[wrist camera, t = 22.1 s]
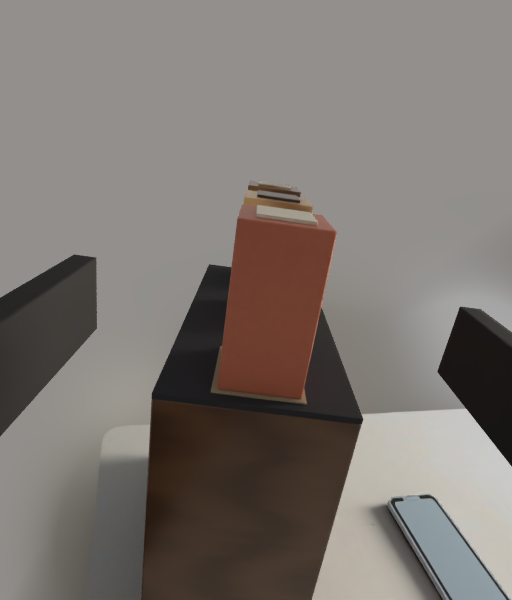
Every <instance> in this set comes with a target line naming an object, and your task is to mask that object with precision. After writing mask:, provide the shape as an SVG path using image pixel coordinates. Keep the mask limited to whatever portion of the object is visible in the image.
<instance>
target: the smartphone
mask: <svg viewBox="0 0 512 600" xmlns="http://www.w3.org/2000/svg"><path fill="white" fill-rule="evenodd" d="M388 508H389V509H390V511H391V513H392V514H393V516H394V518H395V519H396V521H397V523H398V524H399V526H400V528H401V530H402V531H403V533H404V535H405V536H406V538H407V540H408V541H409V543H410V545H411V546H412V548H413V550H414V551H415V553H416V555H417V556H418V558H419V560H420V562H421V563H422V565H423V567H424V568H425V570H426V572H427V573H428V575H429V577H430V578H431V580H432V582H433V583H434V585H435V587H436V588H437V590H438V592H439V594H440V595H441V597H442V599H443V600H511V599H510V598H509V596H508V595H507V593H506V592H505V591H504V589H503V588H502V587H501V585H500V584H499V583H498V581H497V580H496V579H495V577H494V576H493V574H492V573H491V572H490V570H489V569H488V568H487V566H486V565H485V564H484V562H483V561H482V559H481V558H480V557H479V555H478V554H477V553H476V551H475V550H474V549H473V547H472V546H471V545H470V543H469V542H468V540H467V539H466V538H465V536H464V535H463V534H462V532H461V531H460V530H459V528H458V527H457V525H456V524H455V523H454V521H453V520H452V519H451V517H450V516H449V515H448V513H447V512H446V510H445V509H444V508H443V506H442V505H441V504H440V502H439V501H438V500H437V498H436V497H434V496H433V495H431V494H418V495H408V496H398V497H391V498H390V499H389V501H388Z"/></svg>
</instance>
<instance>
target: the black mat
mask: <svg viewBox="0 0 512 600" xmlns="http://www.w3.org/2000/svg"><path fill="white" fill-rule="evenodd" d="M231 268H232V267H225V266H216V265H209V266H208V268H207V271H206V273H205V275H204V277H203V280H202V282H201V284H200V286H199V289H198V291H197V293H196V296H195V298H194V300H193V302H192V304H191V307H190V309H189V311H188V313H187V315H186V318H185V320H184V322H183V324H182V327H181V329H180V331H179V333H178V336H177V338H176V340H175V343H174V345H173V347H172V349H171V352H170V354H169V356H168V358H167V360H166V363H165V365H164V367H163V370H162V372H161V374H160V376H159V379H158V381H157V383H156V385H155V387H154V390H153V392H152V399H158V400H166V401H174V402H182V403H190V404H199V405H207V406H215V407H223V408H231V409H239V410H247V411H255V412H264V413H272V414H280V415H288V416H296V417H304V418H312V419H320V420H329V421H337V422H345V423H353V424H362V422H363V417H362V415H361V412H360V409H359V407H358V404H357V401H356V399H355V396H354V394H353V391H352V388H351V385H350V383H349V380H348V378H347V374H346V372H345V369H344V366H343V364H342V361H341V359H340V356H339V353H338V350H337V348H336V345H335V342H334V340H333V337H332V335H331V332H330V329H329V326H328V324H327V321H326V318H325V315H324V313H323V310H322V308H321V310H320V315H319V320H318V324H317V329H316V334H315V338H314V343H313V348H312V353H311V357H310V362H309V367H308V371H307V376H306V381H305V386H304V390H303V395H302V398H301V399H295V398H287V397H279V396H271V395H263V394H255V393H247V392H239V391H231V390H223V389H218V388H217V384H218V376H219V368H220V360H221V351H222V343H223V335H224V326H225V318H226V310H227V301H228V293H229V285H230V277H231Z"/></svg>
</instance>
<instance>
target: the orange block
mask: <svg viewBox="0 0 512 600" xmlns="http://www.w3.org/2000/svg"><path fill="white" fill-rule="evenodd" d="M336 235H337V232H336V231H335V229H334V228H333V227H332V226H331V225H330V224H329V223H328V222H327V220H326V219H325V218H324V217H323V216H321V215H315V214H312V213H311V212H304V211H297V210H290V209H283V208H276V207H269V206H262V205H257V206H252V205H245V204H243V205H242V207H241V210H240V213H239V216H238V219H237V227H236V235H235V243H234V252H233V260H232V268H231V277H230V285H229V293H228V301H227V310H226V318H225V326H224V335H223V343H222V351H221V360H220V368H219V376H218V384H217V388H218V389H223V390H231V391H239V392H247V393H255V394H263V395H271V396H279V397H287V398H295V399H301V398H302V395H303V390H304V386H305V381H306V376H307V371H308V367H309V362H310V357H311V353H312V348H313V343H314V338H315V334H316V329H317V324H318V320H319V315H320V310H321V306H322V300H323V296H324V291H325V287H326V282H327V277H328V273H329V268H330V263H331V259H332V254H333V249H334V244H335V239H336Z"/></svg>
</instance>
